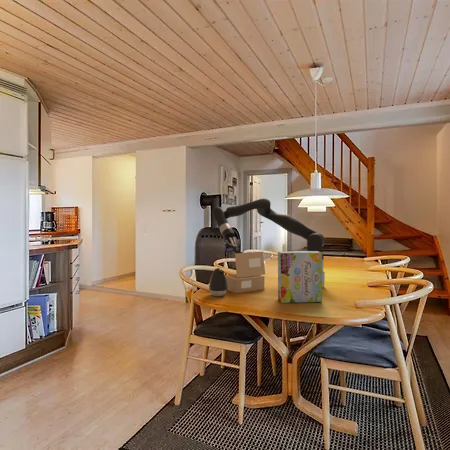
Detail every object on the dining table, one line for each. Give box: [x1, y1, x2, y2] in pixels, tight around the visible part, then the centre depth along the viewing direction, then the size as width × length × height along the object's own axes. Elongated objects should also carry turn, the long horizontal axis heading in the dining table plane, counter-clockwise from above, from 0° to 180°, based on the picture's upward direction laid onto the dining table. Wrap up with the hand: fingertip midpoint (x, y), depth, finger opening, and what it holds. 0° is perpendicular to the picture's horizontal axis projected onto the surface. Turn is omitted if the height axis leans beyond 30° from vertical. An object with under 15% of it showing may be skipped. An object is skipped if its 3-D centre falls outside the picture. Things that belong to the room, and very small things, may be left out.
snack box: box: [277, 250, 323, 304], centre depth 172 cm, size 22×9×26 cm, turn 92°
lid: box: [234, 251, 266, 278], centre depth 193 cm, size 14×20×1 cm
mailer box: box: [225, 273, 265, 294], centre depth 199 cm, size 14×20×8 cm
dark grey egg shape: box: [208, 267, 228, 297], centre depth 183 cm, size 10×10×15 cm
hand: (237, 252), depth 205 cm, fingers closed
